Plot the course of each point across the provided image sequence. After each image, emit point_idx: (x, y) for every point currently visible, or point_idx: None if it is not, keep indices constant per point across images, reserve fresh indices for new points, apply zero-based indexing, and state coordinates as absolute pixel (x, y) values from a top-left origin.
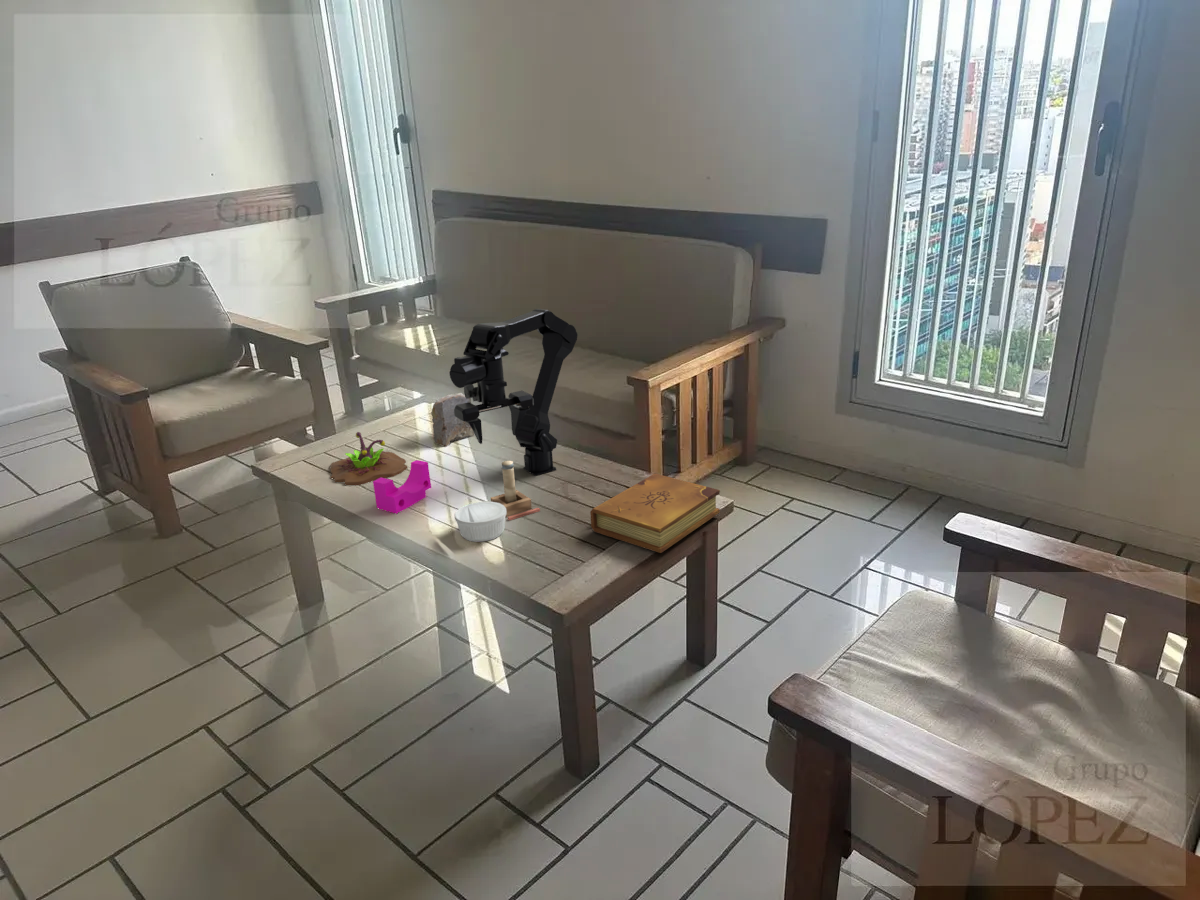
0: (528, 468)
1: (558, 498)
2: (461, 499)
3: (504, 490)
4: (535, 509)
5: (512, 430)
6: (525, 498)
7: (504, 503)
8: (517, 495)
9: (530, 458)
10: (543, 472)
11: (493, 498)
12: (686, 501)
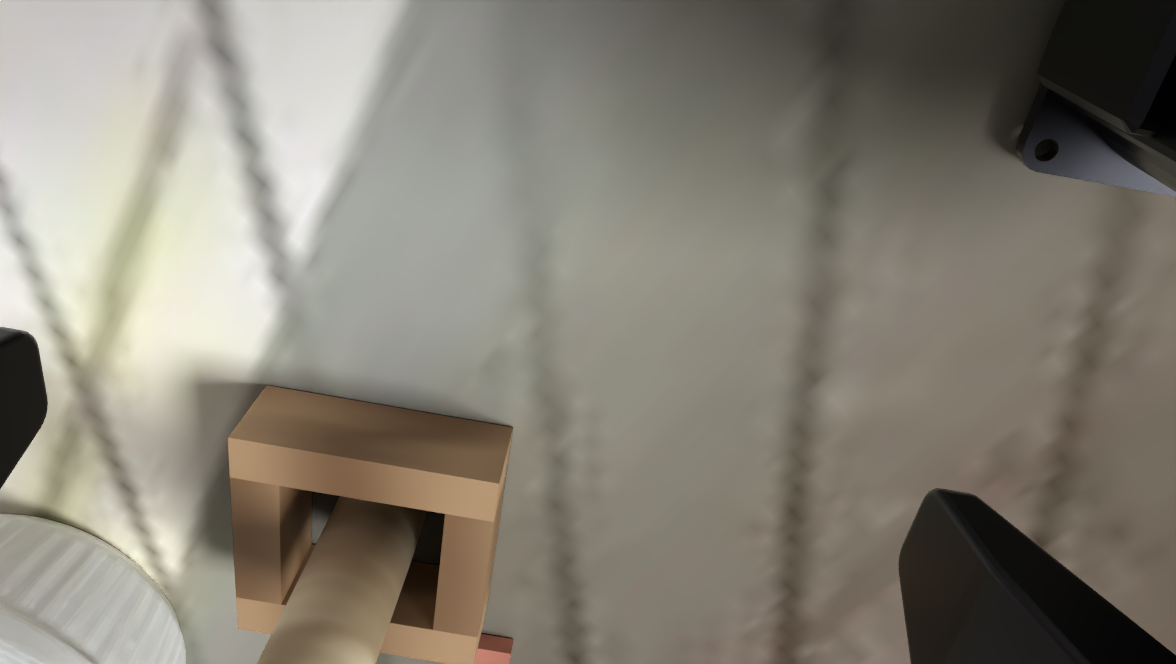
0: (1061, 59)
1: (743, 614)
2: (101, 33)
3: (283, 611)
4: (478, 658)
5: (963, 562)
6: (451, 634)
7: (272, 590)
8: (441, 553)
9: (1139, 136)
10: (1121, 184)
11: (242, 468)
12: None
